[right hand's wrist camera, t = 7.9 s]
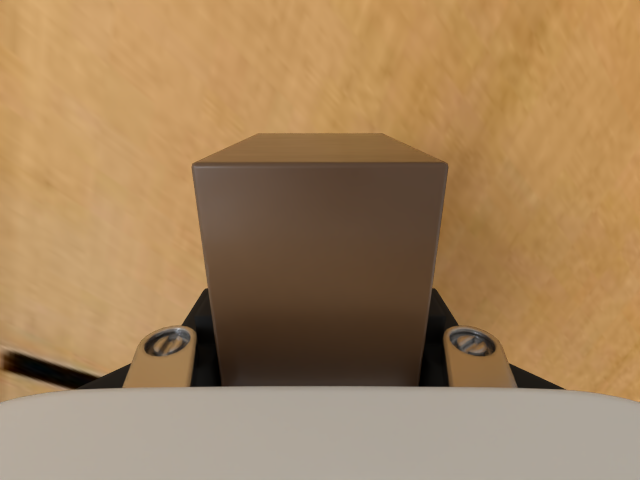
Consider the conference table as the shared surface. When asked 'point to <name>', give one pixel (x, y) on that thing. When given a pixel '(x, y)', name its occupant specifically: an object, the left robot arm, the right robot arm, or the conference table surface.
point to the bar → (320, 258)
